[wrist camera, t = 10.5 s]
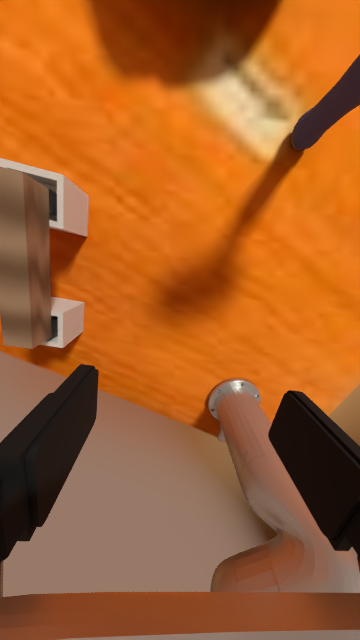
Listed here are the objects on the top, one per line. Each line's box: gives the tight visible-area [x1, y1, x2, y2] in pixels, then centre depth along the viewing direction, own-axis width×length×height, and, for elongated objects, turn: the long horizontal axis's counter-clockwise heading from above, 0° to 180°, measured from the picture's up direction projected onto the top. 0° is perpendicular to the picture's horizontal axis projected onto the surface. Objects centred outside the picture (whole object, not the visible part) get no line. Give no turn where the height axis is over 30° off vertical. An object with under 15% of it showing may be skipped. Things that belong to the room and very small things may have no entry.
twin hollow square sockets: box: [0, 158, 89, 348], centre depth 27 cm, size 24×7×7 cm, turn 168°
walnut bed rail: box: [0, 167, 58, 349], centre depth 23 cm, size 20×4×7 cm, turn 168°
